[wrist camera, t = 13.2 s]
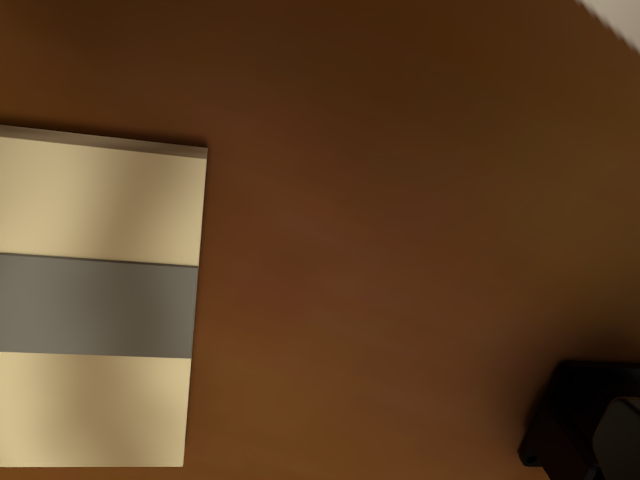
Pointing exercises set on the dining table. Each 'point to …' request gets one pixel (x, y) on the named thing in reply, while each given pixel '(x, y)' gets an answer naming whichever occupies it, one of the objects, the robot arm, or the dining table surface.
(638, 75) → the dining table surface
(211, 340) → the dining table surface
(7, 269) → the subfloor board
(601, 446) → the robot arm
